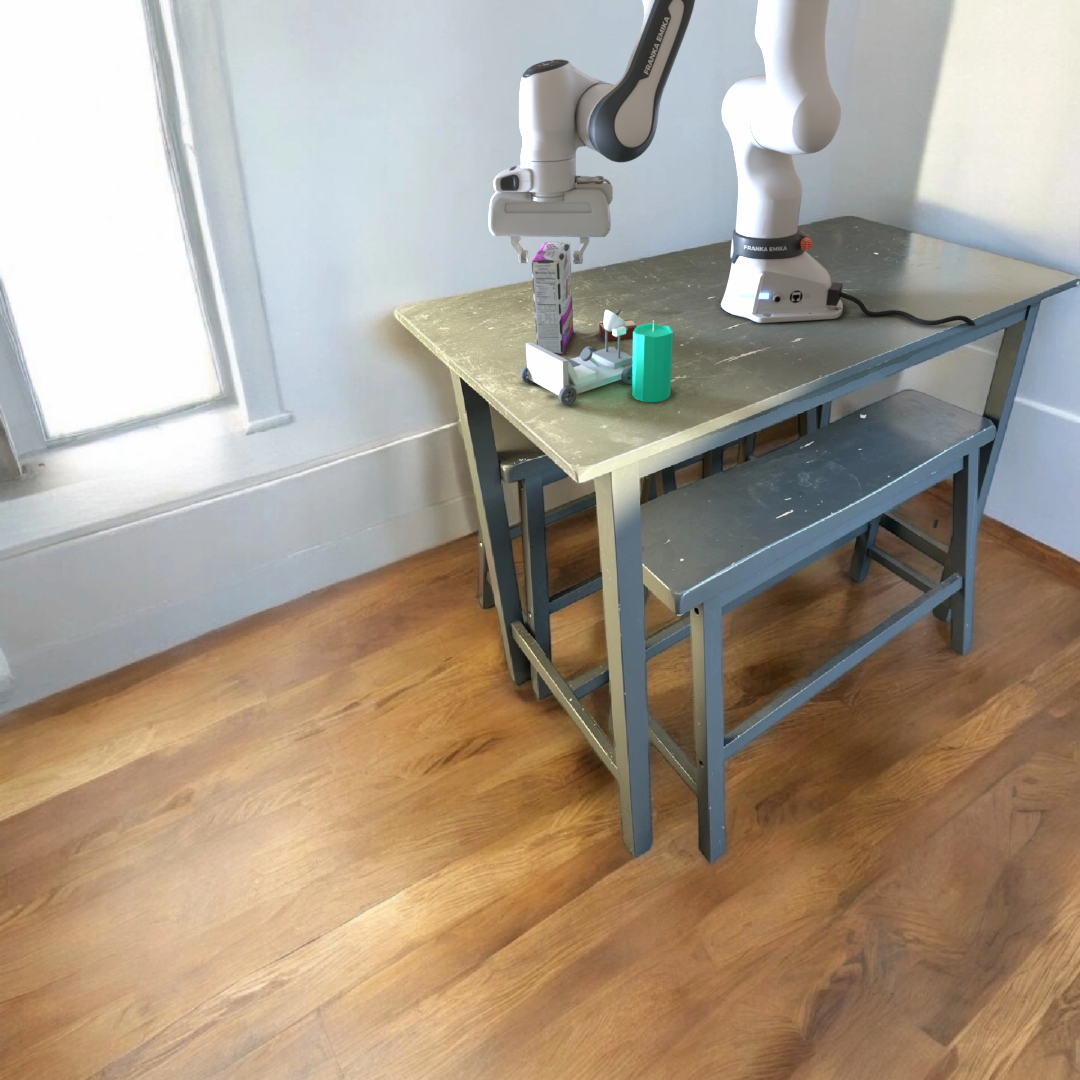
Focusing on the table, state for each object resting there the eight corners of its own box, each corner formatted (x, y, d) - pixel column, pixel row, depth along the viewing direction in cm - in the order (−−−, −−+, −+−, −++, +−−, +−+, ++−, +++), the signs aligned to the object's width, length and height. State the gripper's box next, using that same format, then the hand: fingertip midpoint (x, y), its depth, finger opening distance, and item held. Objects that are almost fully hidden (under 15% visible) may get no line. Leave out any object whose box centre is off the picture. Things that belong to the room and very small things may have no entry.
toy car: (607, 300, 141) (653, 318, 133) (607, 356, 147) (651, 377, 139) (516, 326, 133) (559, 347, 125) (520, 384, 139) (561, 408, 131)
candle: (660, 405, 130) (663, 329, 123) (625, 397, 133) (626, 323, 126) (676, 390, 134) (680, 316, 127) (642, 383, 137) (644, 310, 130)
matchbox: (630, 329, 157) (630, 318, 156) (636, 337, 154) (637, 326, 153) (598, 333, 156) (598, 322, 155) (604, 341, 153) (604, 330, 152)
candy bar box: (547, 331, 158) (543, 241, 149) (573, 332, 157) (571, 241, 148) (535, 354, 149) (530, 259, 140) (563, 355, 148) (560, 260, 139)
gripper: (614, 171, 139) (613, 257, 146) (491, 172, 141) (496, 256, 149) (611, 180, 133) (610, 268, 141) (483, 180, 136) (489, 267, 144)
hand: (550, 262), depth 145 cm, fingers open, 8 cm apart
